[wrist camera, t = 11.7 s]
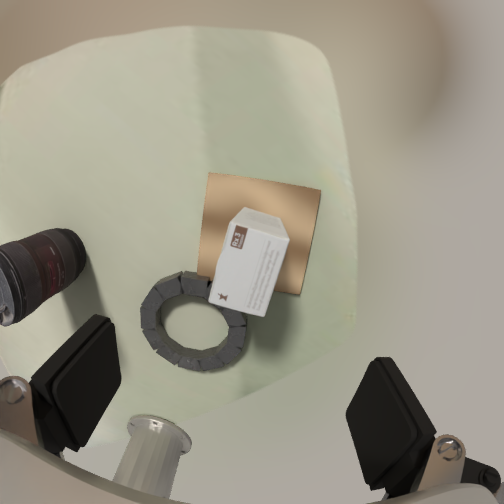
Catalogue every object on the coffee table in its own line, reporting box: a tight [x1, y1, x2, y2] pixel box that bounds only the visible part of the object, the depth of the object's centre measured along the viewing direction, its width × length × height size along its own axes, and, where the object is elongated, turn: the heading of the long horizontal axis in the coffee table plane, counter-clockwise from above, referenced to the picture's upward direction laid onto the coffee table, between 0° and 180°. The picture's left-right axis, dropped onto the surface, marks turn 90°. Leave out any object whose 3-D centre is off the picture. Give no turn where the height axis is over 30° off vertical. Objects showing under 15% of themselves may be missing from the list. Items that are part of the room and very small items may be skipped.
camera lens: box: [0, 228, 86, 326], centre depth 24 cm, size 8×8×15 cm
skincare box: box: [208, 207, 290, 317], centre depth 24 cm, size 6×4×12 cm
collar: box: [140, 271, 247, 371], centre depth 32 cm, size 13×13×2 cm
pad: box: [197, 172, 321, 294], centre depth 30 cm, size 12×12×1 cm
